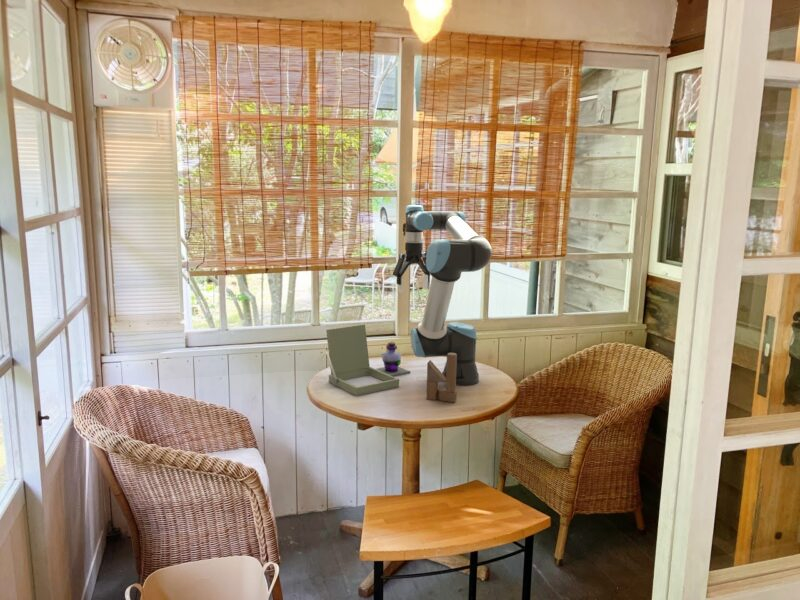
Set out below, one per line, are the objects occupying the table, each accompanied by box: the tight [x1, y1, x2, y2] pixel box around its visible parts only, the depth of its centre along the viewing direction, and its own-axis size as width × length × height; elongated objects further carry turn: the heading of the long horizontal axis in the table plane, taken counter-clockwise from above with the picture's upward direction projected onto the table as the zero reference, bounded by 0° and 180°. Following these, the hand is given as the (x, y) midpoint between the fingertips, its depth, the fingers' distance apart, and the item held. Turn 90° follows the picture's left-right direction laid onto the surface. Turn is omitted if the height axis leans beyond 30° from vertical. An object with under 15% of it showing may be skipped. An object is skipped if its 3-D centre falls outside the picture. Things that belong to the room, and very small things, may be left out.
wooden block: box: [426, 353, 458, 403], centre depth 230 cm, size 4×11×18 cm, turn 71°
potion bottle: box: [381, 341, 403, 372], centre depth 263 cm, size 9×9×12 cm
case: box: [324, 324, 400, 397], centre depth 247 cm, size 24×21×21 cm
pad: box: [376, 366, 411, 377], centre depth 265 cm, size 11×11×1 cm
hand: (412, 290), depth 272 cm, fingers open, 13 cm apart
